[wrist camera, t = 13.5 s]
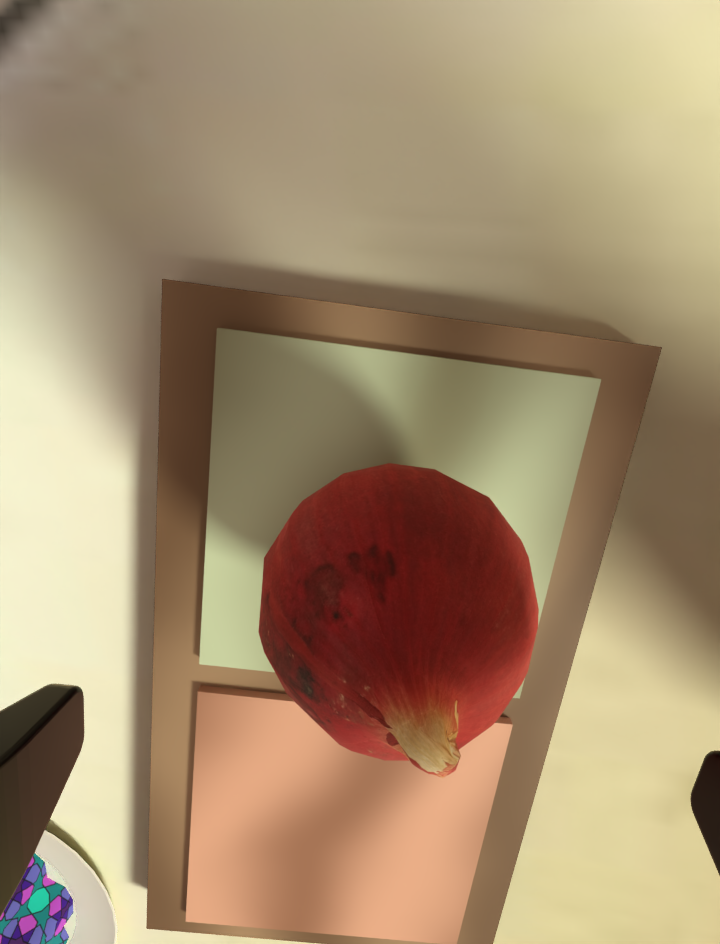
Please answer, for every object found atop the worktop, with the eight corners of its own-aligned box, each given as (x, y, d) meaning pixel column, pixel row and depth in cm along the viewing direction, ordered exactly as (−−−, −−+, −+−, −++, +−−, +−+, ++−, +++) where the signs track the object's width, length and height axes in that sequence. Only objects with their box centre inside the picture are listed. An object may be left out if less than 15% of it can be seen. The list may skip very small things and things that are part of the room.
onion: (278, 613, 16) (203, 896, 8) (290, 422, 14) (210, 549, 6) (472, 629, 16) (578, 920, 8) (506, 443, 14) (676, 590, 7)
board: (638, 344, 15) (668, 348, 14) (481, 923, 22) (490, 967, 20) (177, 281, 15) (158, 278, 13) (158, 894, 21) (143, 937, 20)
